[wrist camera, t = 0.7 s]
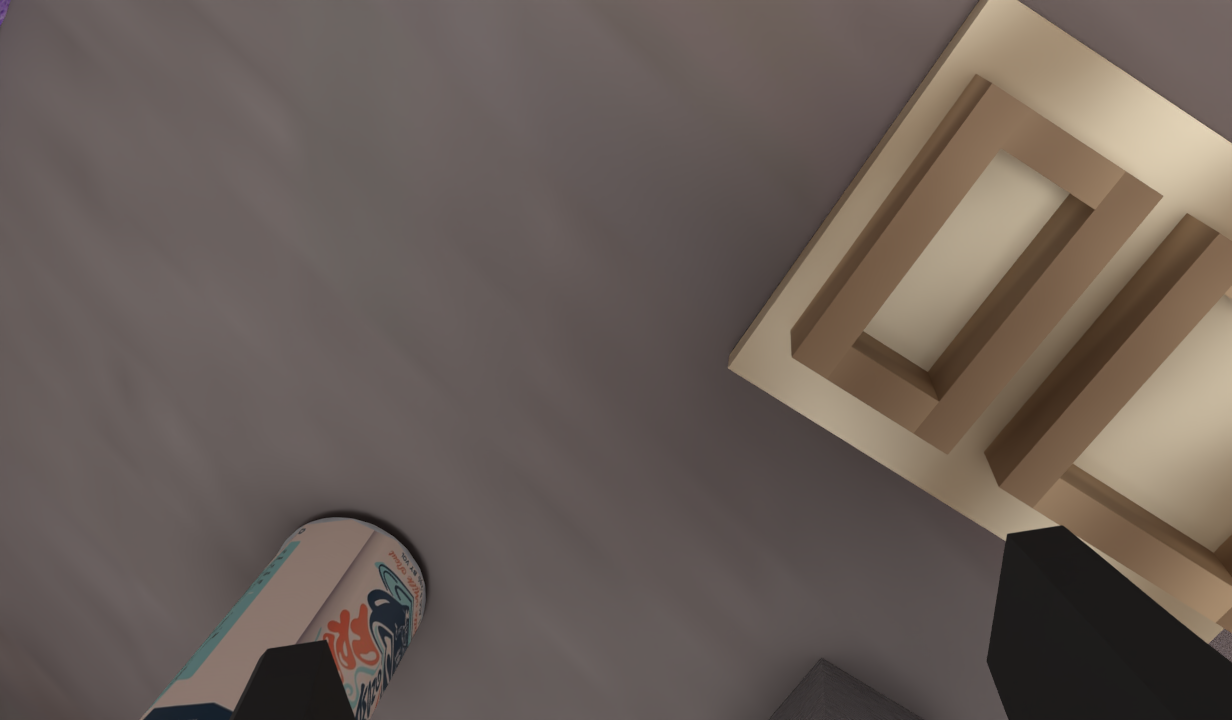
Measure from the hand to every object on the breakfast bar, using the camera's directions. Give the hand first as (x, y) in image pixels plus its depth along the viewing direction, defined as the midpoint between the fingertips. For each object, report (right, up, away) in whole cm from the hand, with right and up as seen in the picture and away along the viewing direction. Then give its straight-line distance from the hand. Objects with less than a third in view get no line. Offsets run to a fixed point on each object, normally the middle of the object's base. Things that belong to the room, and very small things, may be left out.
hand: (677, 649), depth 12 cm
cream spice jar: (-9, -3, +22) cm, 24 cm away
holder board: (+12, +4, +16) cm, 20 cm away
